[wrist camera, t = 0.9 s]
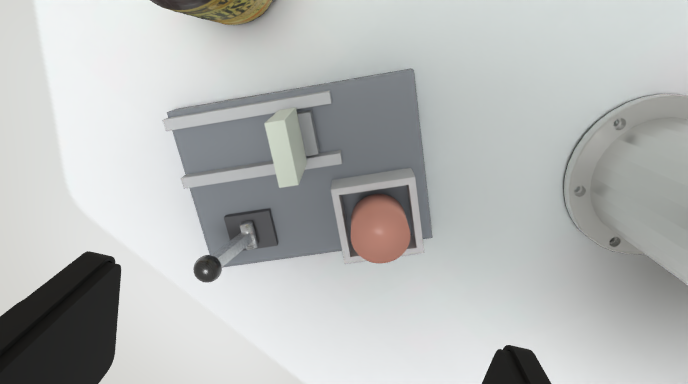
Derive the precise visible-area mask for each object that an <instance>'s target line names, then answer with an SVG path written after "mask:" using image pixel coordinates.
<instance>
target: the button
mask: <svg viewBox="0 0 688 384" xmlns="http://www.w3.org/2000/svg"><path fill="white" fill-rule="evenodd" d="M351 242H352V245H353V248H354V250H355V251H356V252H357V254H358V255H359V256H361V257H362V258H363V259H365V260H367V261H369V262H373V263H387V262H391V261H393V260H395V259H397V258H399V257H400V256H401V255H402V254H403V253H404V252H405V251H406V249H407V247H408V245H409V242H410V229H409V226H408V222H407V219H406V215H405V212H404V209H403V207H402V206H401V204H400V203H399V202H398V201H397V200H396V199H394V198H393V197H391V196H388V195H385V194H373V195H369V196H367V197H365V198H363V199H362V200H360V201H359V202H358V203H357V204H356V206H355V207H354V209H353V212H352V216H351Z"/></svg>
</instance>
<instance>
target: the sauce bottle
mask: <svg viewBox="0 0 688 384" xmlns="http://www.w3.org/2000/svg"><path fill="white" fill-rule="evenodd" d="M150 1H152V2H154V3H155V4H157V5H159V6H161V7H163V8H166V9H169V10H173V11H175V12H180V13H183V14H187V15H191V16H195V17H198V18H201V19H206V20H211V21H215V22H219V23H222V24H228V25H238V24H243V23H247V22H249V21H252V20H254V19H255V18H257V17H260V16H261V15H262V14H264V12H265V11H266V10H267V8H268V7H269V5H270V4H271V2H272V1H273V0H150Z"/></svg>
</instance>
